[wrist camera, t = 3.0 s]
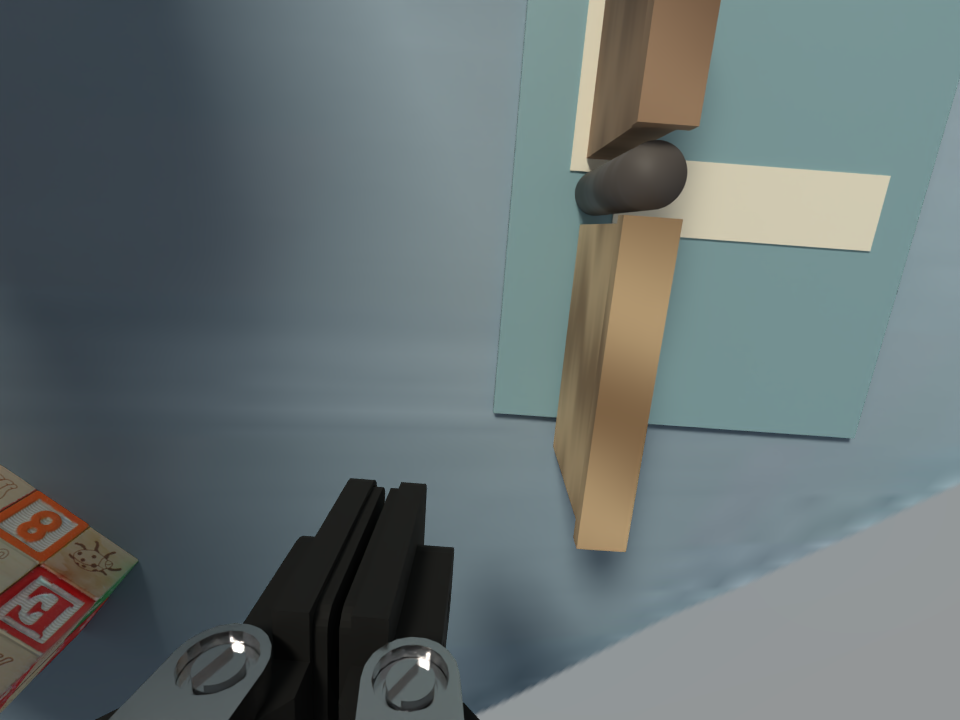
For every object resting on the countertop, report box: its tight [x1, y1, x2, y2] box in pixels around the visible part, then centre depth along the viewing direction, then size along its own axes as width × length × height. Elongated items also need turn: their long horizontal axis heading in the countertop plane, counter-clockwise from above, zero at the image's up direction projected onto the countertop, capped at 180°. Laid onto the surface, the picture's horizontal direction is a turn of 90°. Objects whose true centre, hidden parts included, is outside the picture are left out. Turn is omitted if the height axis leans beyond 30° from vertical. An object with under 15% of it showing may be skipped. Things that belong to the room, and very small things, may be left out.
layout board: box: [493, 0, 960, 438], centre depth 20 cm, size 21×17×1 cm
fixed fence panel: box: [575, 0, 721, 216], centre depth 15 cm, size 12×2×8 cm, turn 176°
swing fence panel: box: [553, 215, 683, 552], centre depth 18 cm, size 10×2×7 cm, turn 176°
